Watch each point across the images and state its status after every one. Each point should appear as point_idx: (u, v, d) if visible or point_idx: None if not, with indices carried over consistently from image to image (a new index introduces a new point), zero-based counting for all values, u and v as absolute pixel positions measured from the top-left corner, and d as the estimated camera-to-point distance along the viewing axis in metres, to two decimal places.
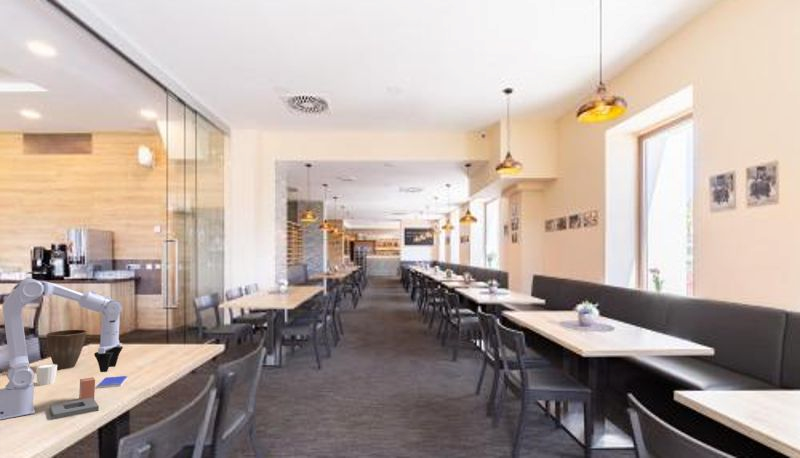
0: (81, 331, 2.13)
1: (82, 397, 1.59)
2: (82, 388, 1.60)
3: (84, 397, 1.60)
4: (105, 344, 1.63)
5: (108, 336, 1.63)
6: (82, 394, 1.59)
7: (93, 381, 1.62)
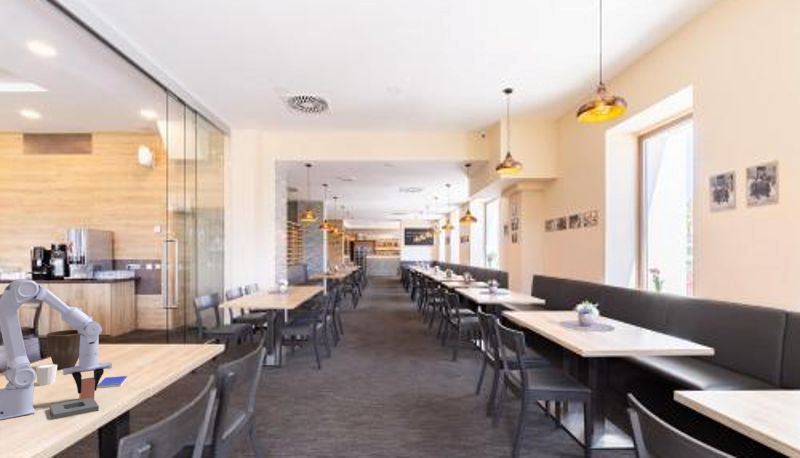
0: None
1: (82, 397, 1.59)
2: (82, 388, 1.60)
3: (84, 397, 1.60)
4: None
5: (80, 358, 1.61)
6: (82, 393, 1.59)
7: (93, 381, 1.62)
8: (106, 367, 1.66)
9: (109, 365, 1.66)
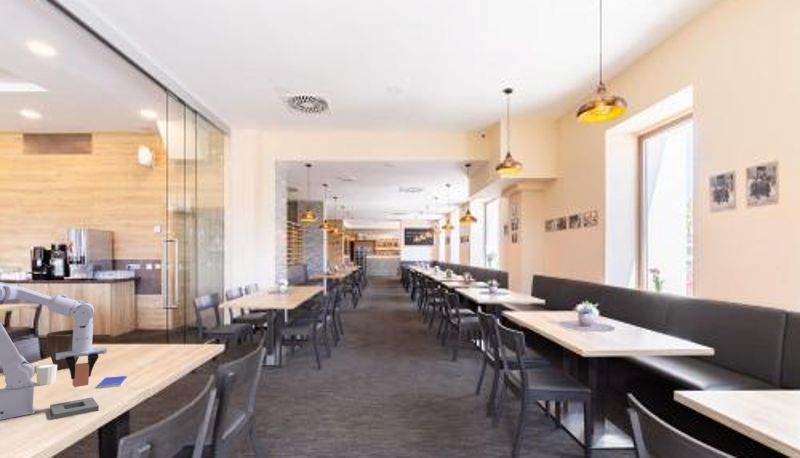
0: None
1: (76, 383, 1.53)
2: (76, 373, 1.53)
3: (78, 383, 1.54)
4: (72, 350, 1.55)
5: (73, 342, 1.54)
6: (75, 379, 1.53)
7: (87, 366, 1.56)
8: (101, 352, 1.60)
9: (104, 350, 1.60)
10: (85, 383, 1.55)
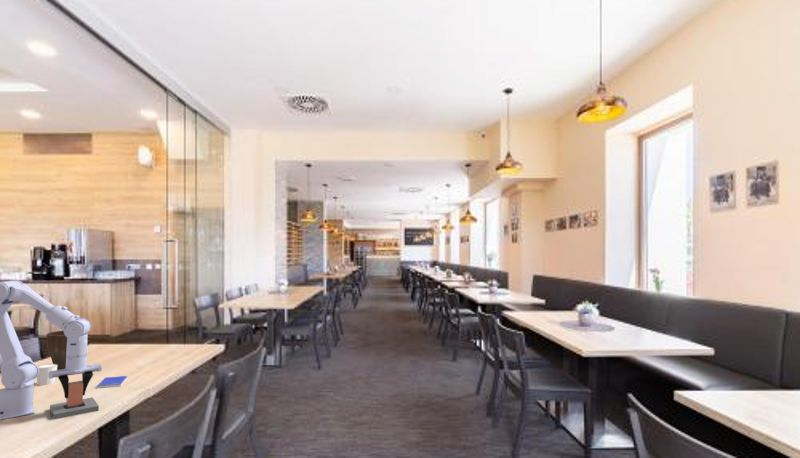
0: None
1: (69, 402, 1.48)
2: (69, 392, 1.48)
3: (71, 402, 1.49)
4: None
5: (67, 360, 1.49)
6: (69, 398, 1.48)
7: (81, 385, 1.51)
8: (95, 370, 1.55)
9: (99, 368, 1.55)
10: (79, 402, 1.50)
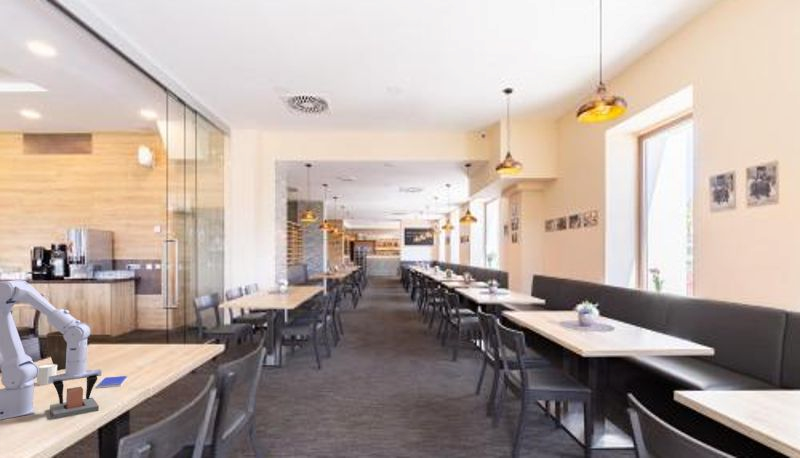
0: None
1: (69, 408, 1.48)
2: (69, 398, 1.48)
3: None
4: (65, 373, 1.50)
5: (67, 364, 1.49)
6: (68, 404, 1.48)
7: (81, 391, 1.51)
8: (95, 374, 1.55)
9: (99, 372, 1.55)
10: None
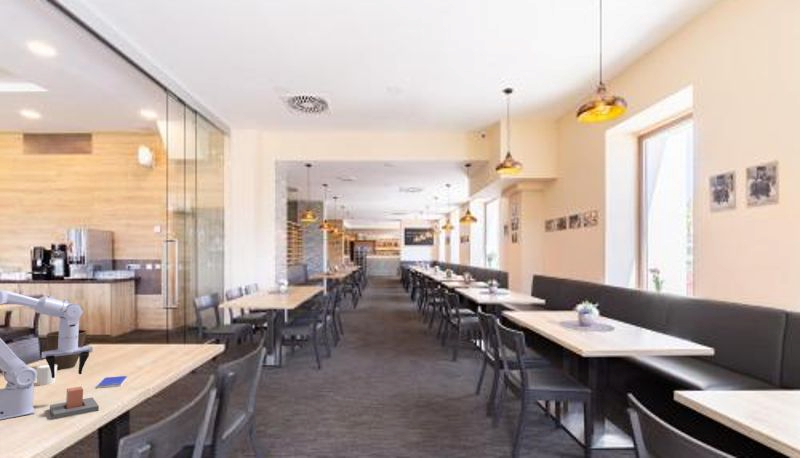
0: (81, 331, 2.13)
1: (69, 408, 1.48)
2: (69, 398, 1.48)
3: None
4: (58, 349, 1.57)
5: (59, 341, 1.57)
6: (68, 404, 1.48)
7: (81, 391, 1.51)
8: (87, 351, 1.62)
9: (90, 349, 1.62)
10: None
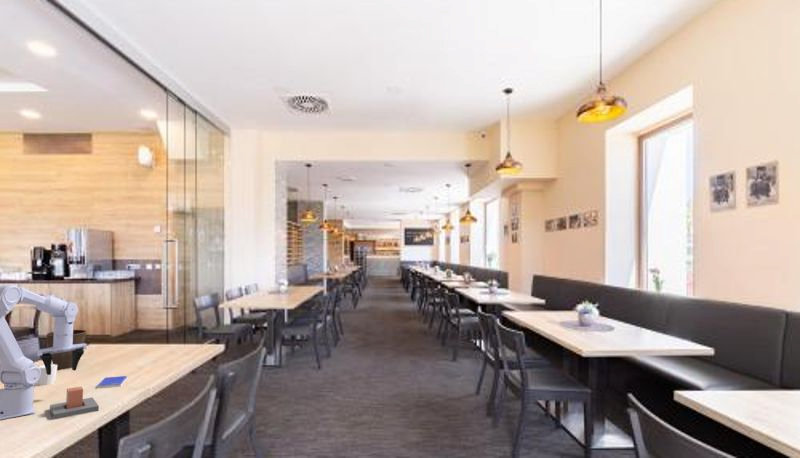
0: (81, 331, 2.13)
1: (69, 408, 1.48)
2: (69, 398, 1.48)
3: None
4: (53, 346, 1.61)
5: (55, 338, 1.61)
6: (68, 404, 1.48)
7: (81, 391, 1.51)
8: (81, 348, 1.68)
9: (84, 346, 1.68)
10: None
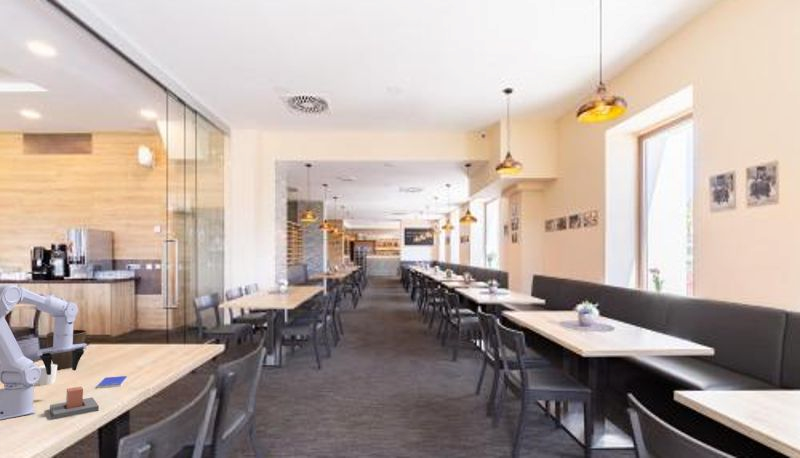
0: (81, 331, 2.13)
1: (69, 408, 1.48)
2: (69, 398, 1.48)
3: None
4: (53, 346, 1.61)
5: (55, 338, 1.61)
6: (68, 404, 1.48)
7: (81, 391, 1.51)
8: (81, 348, 1.68)
9: (84, 346, 1.68)
10: None
